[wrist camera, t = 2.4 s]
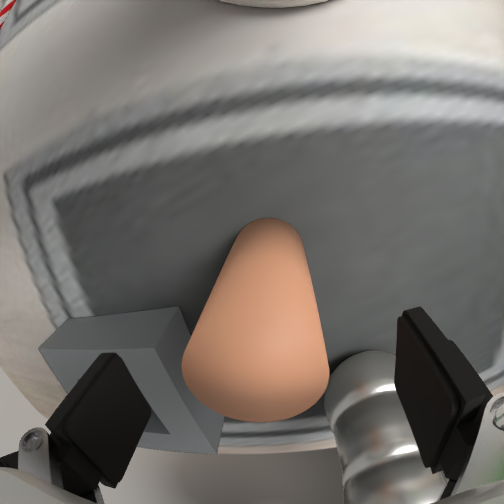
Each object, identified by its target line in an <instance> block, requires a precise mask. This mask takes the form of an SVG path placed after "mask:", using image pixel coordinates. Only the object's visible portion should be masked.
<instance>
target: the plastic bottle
mask: <svg viewBox="0 0 504 504" xmlns="http://www.w3.org/2000/svg"><path fill="white" fill-rule="evenodd" d="M395 361H396V356H395V355H393V354H390V353H387V352H383V351H377V350H374V351H365V352H361V353H358V354H355V355H353V356H351V357H349V358H347V359H346V360H344V361H343V362H342V363H341V364H340V365H339V366H338V367H337V368H336V369H335V370H334V372H333V373H332V374H331V376H330V377H329V381H328V385H327V387H326V390H325V398H324V408H325V411H326V415H327V418H328V421H329V424H330V427H331V429H332V431H333V433H334V436H335V441H336V445H337V449H338V454H339V458H340V463H341V467H342V473H343V486H344V490H343V499H344V500H343V502H344V504H430V503H433V502H436V501H437V499H438V497H439V496H440V494H441V492H442V490H443V488H444V485H445V482H444V480H443V478H442V475H441V473H440V472H437V473H435V474H432V471H431V468H430V467H429V468H425V466H424V464H423V462H422V459H421V456H420V453H419V450H418V447H417V444H416V441H415V439H414V436H413V433H412V430H411V428H410V425H409V422H408V420H407V417H406V414H405V412H404V409H403V407H402V404H401V402H400V399H399V397H398V394H397V392H396V389H395V385H394V374H395Z"/></svg>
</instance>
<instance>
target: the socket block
mask: <svg viewBox="0 0 504 504" xmlns="http://www.w3.org/2000/svg"><path fill="white" fill-rule="evenodd" d="M190 338H191V335H190V333H189V330H188V328H187V325H186V323H185V320H184V318H183V315H182V313H181V310H180V308H179V306H176V307H168V308H161V309H153V310H145V311H137V312H129V313H120V314H111V315H102V316H92V317H82V318H71V319H67V320H66V321H65V322H64V323H63V324H62V325H61V326H60V327H59V328H58V329H57V330H56V331H55V332H54V333H53V334H52V335H51V336H50V337H49V338H48V339H47V340H46V341H45V342H44V343H43V344H42V345H41V346H40V347H39V348H38V349H39V351H40V353H41V354H42V356H43V358H44V359H45V361H46V363H47V364H48V366H49V367H50V369H51V370H52V372H53V373H54V375H55V376H56V378H57V379H58V381H59V382H60V384H61V385H62V387H63V388H64V389H65V391H66V392H67V394H69V392H70V391H71V390H72V388H73V387H74V386H75V385H76V383H77V382H78V381H79V379H80V378H81V377H82V376H83V374H84V373H85V372H86V371H87V369H88V368H89V367H90V366H91V365H92V363H93V362H94V361H95V360H96V358H97V357H98V356H99V355H100V354H101V353H111V352H114V353H117V354H118V355H119V356H120V357H121V358H122V359H123V361H124V363H125V364H126V366H127V368H128V370H129V372H130V374H131V375H132V377H133V379H134V381H135V382H136V384H137V386H138V387H139V389H140V391H141V392H142V394H143V396H144V397H145V399H146V401H147V402H148V404H149V405H150V407H151V417H150V419H149V421H148V423H147V425H146V427H145V430H144V432H143V434H142V436H141V438H140V440H139V443H138V445H137V447H141V448H148V449H156V450H164V451H174V452H185V453H201V454H217V451H218V446H219V442H220V437H221V432H222V427H223V422H224V418H225V416H224V415H221V414H219V413H217V412H215V411H213V410H211V409H210V408H208V407H207V406H205V405H204V404H203V403H201V402H200V401H199V400H198V399H197V398H196V397H195V396H194V395H193V394H192V393H191V391H190V390H189V388H188V387H187V385H186V383H185V381H184V378H183V374H182V366H181V365H182V358H183V355H184V352H185V349H186V347H187V345H188V343H189V340H190Z"/></svg>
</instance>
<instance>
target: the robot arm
mask: <svg viewBox="0 0 504 504" xmlns="http://www.w3.org/2000/svg"><path fill="white" fill-rule="evenodd" d="M219 1H223V2H228V3H232V4H237V5H243V6H253V7H277V8H285V7H295V6H306V5H310V4H315V3H320V2H325V1H328V0H219ZM394 385H395V389H396V392H397V394H398V397H399V399H400V402H401V404H402V407H403V409H404V412H405V414H406V417H407V420H408V422H409V425H410V428H411V430H412V433H413V436H414V439H415V441H416V444H417V447H418V450H419V453H420V456H421V459H422V462H423V464H424V466H425V468H429V467H430V468H431V471H432V474H435V473H437V472H440V471H442V470H443V471H444V474H445V477H446V478H448V479H447V481H446V483H445V485H444V488H443V490H442V492H441V494H440V496H439V497H438V499H437V501H436V502H433V503H430V504H504V392H501V393H498V394H497V395H495V396H494V397H493V395H492V394H491V392H490V391H489V389H488V388H487V387H486V385H485V384H484V382H483V381H482V379H481V378H480V377H479V375H478V374H477V372H476V371H475V370H474V368H473V367H472V365H471V364H470V363H469V361H468V360H467V359H466V357H465V356H464V355H463V353H462V352H461V351H460V349H459V348H458V347H457V346H456V344H455V343H454V342H453V341H451V340H448V339H447V338H446V337H445V336H444V334H443V333H442V332H441V331H440V329H439V328H438V327H437V325H436V324H435V323H434V322H433V321H432V319H431V318H430V317H429V316H428V314H427V313H426V312H425V311H424V310H423V308H421V307H416V308H413V309H409V310H405V311H403V314H402V316H401V317H398V320H397V345H396V361H395V374H394ZM150 417H151V407H150V405H149V404H148V402H147V401H146V399H145V397H144V396H143V394H142V392H141V391H140V389H139V387H138V386H137V384H136V382H135V381H134V379H133V377H132V375H131V374H130V372H129V370H128V368H127V366H126V364H125V363H124V361H123V359H122V358H121V357H120V356H119V355H118V354H117V353H114V352H111V353H101V354H100V355H99V356H98V357H97V358H96V360H95V361H94V362H93V363H92V365H91V366H90V367H89V368H88V369H87V371H86V372H85V373H84V374H83V376H82V377H81V378H80V379H79V381H78V382H77V383H76V385H75V386H74V387H73V388H72V390H71V391H70V392H69V394H68V395H67V396H66V397H65V399H64V400H63V401H62V403H61V404H60V405H59V407H58V408H57V409H56V410H55V412H54V413H53V414H52V416H51V417H50V418H49V420H48V421H47V423H46V424H45V425H46V426H47V428H48V429H49V430H50V431H51V434H50V435H49V434H48V433H47V431H46V430H45V429H43V428H33V429H31V430H29V431H28V432H26V433H25V434H24V435H23V437H22V438H21V440H20V443H19V451H17V452H14V453H11V454H9V455H6V456H3V457H1V458H0V504H104V501H103V498H102V495H101V492H100V488H99V486H98V483H99V481H100V482H101V483H102V484H103V485H105V486H108V487H112V488H116V486H117V484H118V482H120V481H121V480H122V478H123V476H124V474H125V471H126V469H127V467H128V465H129V462H130V460H131V458H132V456H133V454H134V451H135V449H136V447H137V445H138V443H139V440H140V438H141V436H142V434H143V432H144V430H145V427H146V425H147V423H148V421H149V419H150Z"/></svg>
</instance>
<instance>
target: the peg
mask: <svg viewBox="0 0 504 504" xmlns="http://www.w3.org/2000/svg"><path fill="white" fill-rule="evenodd" d="M181 366H182V374H183V378H184V381H185V383H186V385H187V387H188V388H189V390H190V391H191V393H192V394H193V395H194V396H195V397H196V398H197V399H198V400H199V401H200V402H201V403H203V404H204V405H205V406H207V407H208V408H210V409H211V410H213V411H215V412H217V413H219V414H221V415H224V416H226V417H229V418H233V419H236V420H241V421H247V422H273V421H279V420H284V419H287V418H291V417H293V416H296V415H298V414H300V413H302V412H304V411H306V410H307V409H309V408H310V407H311V406H313V405H314V404H315V403H316V402H317V401H318V400H319V399H320V398H321V396H322V395H323V393H324V392H325V390H326V387H327V385H328V381H329V365H328V360H327V354H326V349H325V344H324V339H323V334H322V329H321V324H320V319H319V314H318V309H317V304H316V300H315V295H314V291H313V286H312V282H311V277H310V273H309V268H308V264H307V260H306V256H305V251H304V247H303V243H302V240H301V238H300V236H299V234H298V233H297V231H296V230H295V229H294V228H293V227H292V226H291V225H289V224H288V223H286V222H284V221H282V220H279V219H275V218H261V219H257V220H255V221H252V222H250V223H249V224H247V225H246V226H245V227H244V228H243V229H242V230H241V231H240V232H239V234H238V236H237V237H236V240H235V242H234V244H233V246H232V248H231V250H230V252H229V255H228V257H227V259H226V261H225V263H224V265H223V268H222V270H221V272H220V274H219V276H218V278H217V281H216V283H215V285H214V287H213V289H212V291H211V294H210V296H209V298H208V300H207V302H206V305H205V307H204V309H203V311H202V314H201V316H200V318H199V320H198V322H197V325H196V327H195V329H194V331H193V334H192V336H191V338H190V340H189V343H188V345H187V347H186V349H185V352H184V355H183V358H182V365H181Z"/></svg>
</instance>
